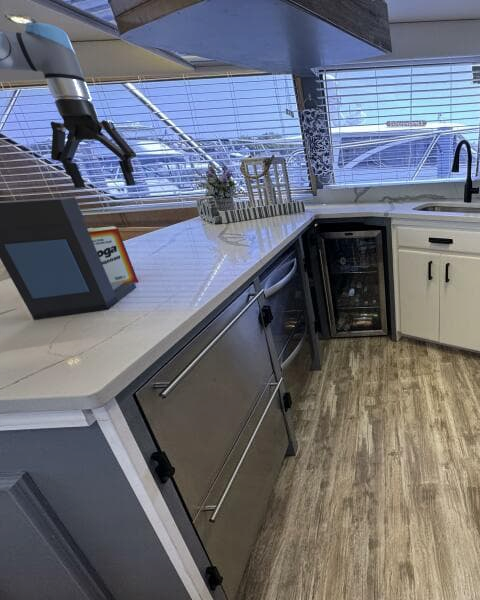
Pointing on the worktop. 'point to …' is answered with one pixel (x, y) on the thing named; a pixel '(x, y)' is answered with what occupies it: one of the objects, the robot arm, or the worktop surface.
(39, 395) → the worktop surface
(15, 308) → the worktop surface
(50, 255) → the slanted screen kiosk
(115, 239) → the baking soda box
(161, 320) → the worktop surface
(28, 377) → the worktop surface
